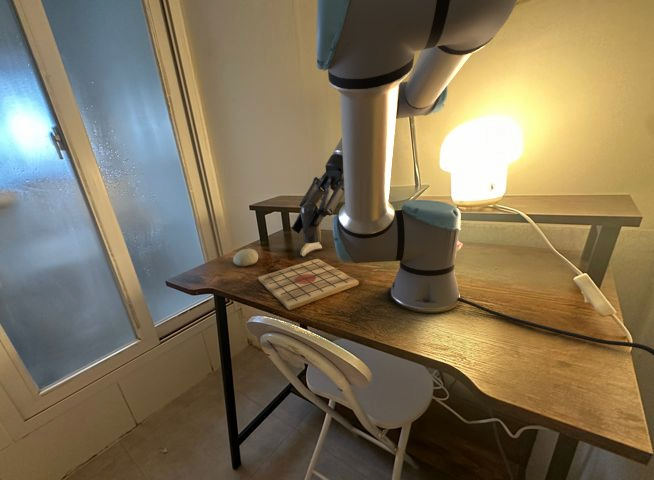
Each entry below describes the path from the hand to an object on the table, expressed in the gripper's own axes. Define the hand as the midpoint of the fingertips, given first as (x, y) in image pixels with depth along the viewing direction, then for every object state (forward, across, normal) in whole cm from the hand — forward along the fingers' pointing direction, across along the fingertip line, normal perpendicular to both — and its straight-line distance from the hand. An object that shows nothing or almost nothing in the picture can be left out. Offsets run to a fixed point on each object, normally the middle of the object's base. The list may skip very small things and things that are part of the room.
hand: (300, 232), depth 85 cm
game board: (+11, -1, -10) cm, 15 cm away
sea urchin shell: (+16, +28, -6) cm, 33 cm away
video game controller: (-17, -18, -38) cm, 46 cm away
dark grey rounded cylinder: (0, 0, -5) cm, 5 cm away
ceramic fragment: (-1, +20, -22) cm, 30 cm away
